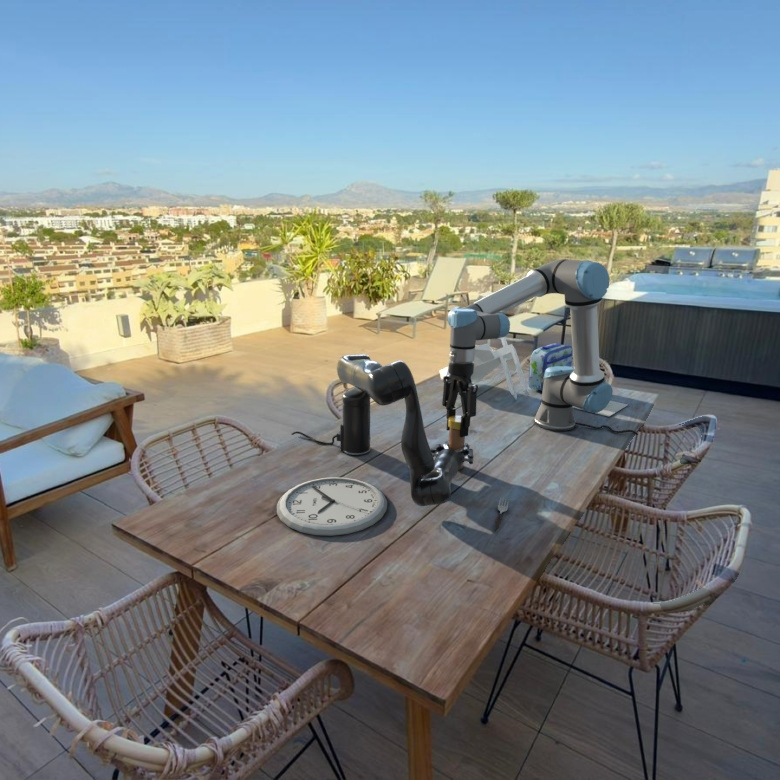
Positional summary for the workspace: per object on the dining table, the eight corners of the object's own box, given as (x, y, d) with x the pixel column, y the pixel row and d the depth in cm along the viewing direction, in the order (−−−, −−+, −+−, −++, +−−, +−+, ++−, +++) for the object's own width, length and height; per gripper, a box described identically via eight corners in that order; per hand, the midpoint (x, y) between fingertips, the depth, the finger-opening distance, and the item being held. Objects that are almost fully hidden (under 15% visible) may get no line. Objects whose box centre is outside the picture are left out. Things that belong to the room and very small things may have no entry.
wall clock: (392, 527, 129) (268, 531, 127) (391, 533, 130) (269, 537, 127) (383, 473, 158) (282, 475, 155) (383, 478, 158) (282, 480, 156)
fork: (489, 532, 131) (490, 525, 131) (499, 502, 145) (500, 496, 145) (500, 534, 130) (500, 527, 130) (509, 504, 145) (509, 497, 144)
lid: (452, 421, 167) (452, 414, 166) (469, 425, 164) (470, 417, 164) (445, 427, 162) (445, 420, 161) (463, 431, 160) (463, 423, 159)
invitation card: (608, 416, 214) (573, 407, 224) (608, 416, 214) (573, 408, 224) (628, 404, 229) (594, 396, 238) (628, 405, 229) (594, 397, 238)
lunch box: (544, 395, 239) (549, 351, 233) (524, 390, 247) (528, 347, 240) (571, 384, 257) (577, 343, 251) (552, 380, 264) (556, 339, 258)
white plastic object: (461, 429, 252) (437, 405, 227) (444, 352, 274) (420, 323, 250) (535, 404, 240) (518, 377, 215) (510, 326, 262) (492, 293, 237)
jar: (465, 468, 166) (468, 423, 161) (451, 470, 165) (453, 424, 160) (459, 462, 170) (461, 417, 166) (445, 464, 169) (447, 418, 164)
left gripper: (470, 458, 149) (481, 436, 165) (422, 450, 154) (436, 430, 169) (469, 481, 151) (479, 458, 167) (421, 473, 156) (435, 451, 171)
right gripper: (432, 356, 163) (429, 425, 169) (473, 369, 148) (468, 445, 155) (451, 353, 167) (447, 421, 173) (492, 366, 152) (486, 440, 158)
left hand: (458, 444), depth 168 cm, fingers closed on jar, 5 cm apart
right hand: (457, 432), depth 164 cm, fingers closed on lid, 6 cm apart
